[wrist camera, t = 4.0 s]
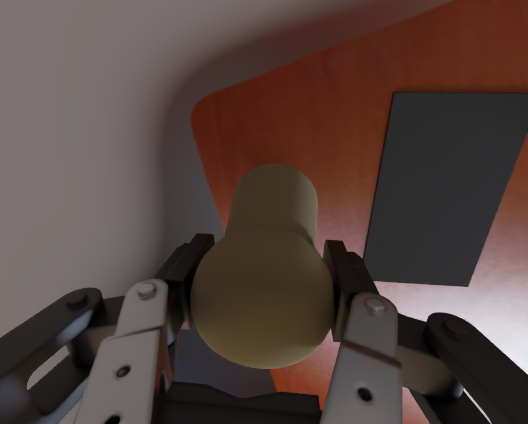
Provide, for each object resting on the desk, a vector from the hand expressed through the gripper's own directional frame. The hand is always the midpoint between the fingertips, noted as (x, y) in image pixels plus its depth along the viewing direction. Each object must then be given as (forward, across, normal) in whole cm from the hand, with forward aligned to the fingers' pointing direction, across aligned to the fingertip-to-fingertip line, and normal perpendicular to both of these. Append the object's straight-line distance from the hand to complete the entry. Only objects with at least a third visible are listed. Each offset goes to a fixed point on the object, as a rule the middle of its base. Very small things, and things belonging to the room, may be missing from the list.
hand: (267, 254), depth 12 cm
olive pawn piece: (+7, 0, 0) cm, 7 cm away
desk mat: (+16, -16, +2) cm, 22 cm away
